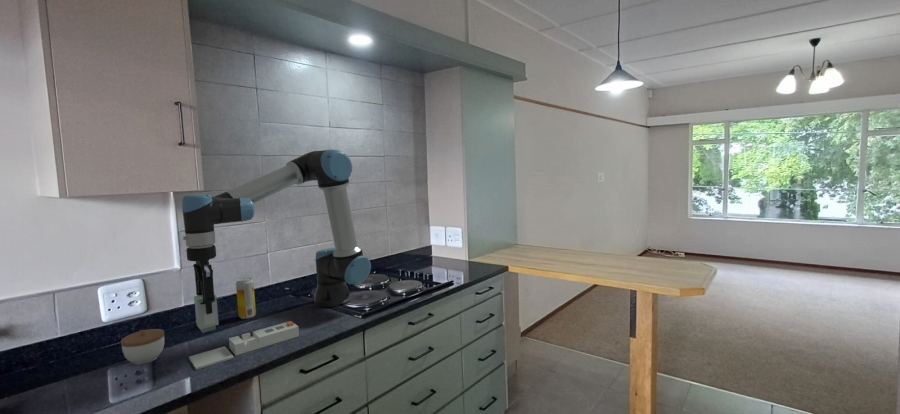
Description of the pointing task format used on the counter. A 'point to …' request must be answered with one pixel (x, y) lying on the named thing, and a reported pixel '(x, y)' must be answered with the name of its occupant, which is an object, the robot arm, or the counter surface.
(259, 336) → the power strip
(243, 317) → the beer can
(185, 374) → the counter surface
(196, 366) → the mat
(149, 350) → the lidded jar
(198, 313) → the block
